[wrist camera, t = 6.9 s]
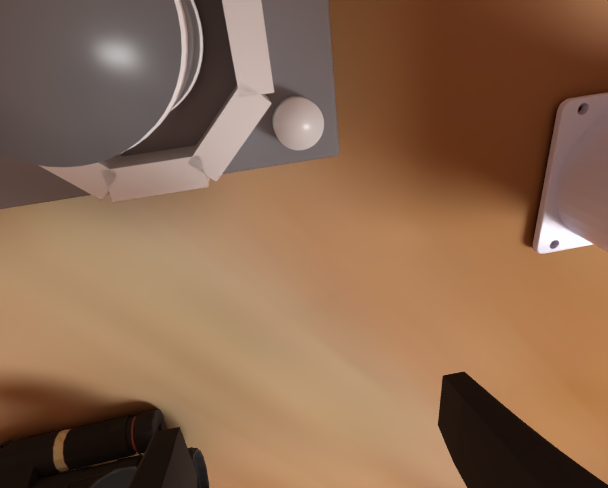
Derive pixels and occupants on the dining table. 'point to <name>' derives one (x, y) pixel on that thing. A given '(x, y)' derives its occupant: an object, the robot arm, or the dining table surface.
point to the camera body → (218, 111)
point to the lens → (92, 75)
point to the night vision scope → (86, 455)
